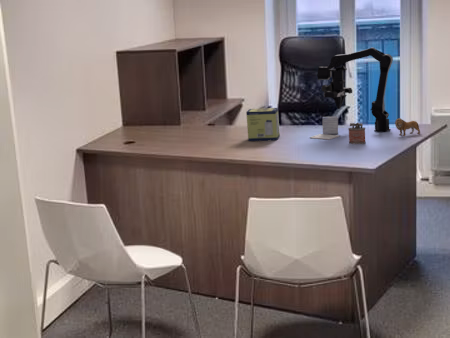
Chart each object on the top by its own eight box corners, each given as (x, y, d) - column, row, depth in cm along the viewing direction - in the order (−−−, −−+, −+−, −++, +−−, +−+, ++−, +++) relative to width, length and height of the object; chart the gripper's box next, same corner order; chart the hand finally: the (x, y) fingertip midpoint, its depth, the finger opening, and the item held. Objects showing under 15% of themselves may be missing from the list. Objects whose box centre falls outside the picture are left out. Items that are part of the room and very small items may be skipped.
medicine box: (337, 133, 377) (337, 116, 375) (338, 134, 372) (338, 117, 371) (322, 133, 377) (322, 116, 376) (322, 134, 373) (322, 117, 372)
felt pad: (339, 136, 367) (339, 135, 367) (329, 139, 360) (329, 138, 360) (320, 134, 375) (320, 133, 375) (309, 138, 368) (309, 137, 368)
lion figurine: (399, 137, 353) (399, 119, 351) (392, 136, 358) (392, 118, 356) (423, 133, 359) (423, 115, 357) (416, 132, 364) (416, 114, 362)
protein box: (251, 137, 382) (249, 108, 379) (280, 136, 379) (278, 107, 375) (247, 141, 372) (245, 111, 369) (277, 140, 369) (275, 110, 366)
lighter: (366, 142, 347) (365, 122, 344) (365, 144, 343) (364, 123, 341) (349, 142, 349) (348, 122, 347) (348, 144, 346) (347, 123, 344)
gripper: (334, 77, 387) (335, 105, 391) (314, 81, 374) (316, 110, 377) (352, 77, 380) (353, 106, 383) (332, 81, 367) (334, 111, 370)
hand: (338, 108), depth 379 cm, fingers closed
